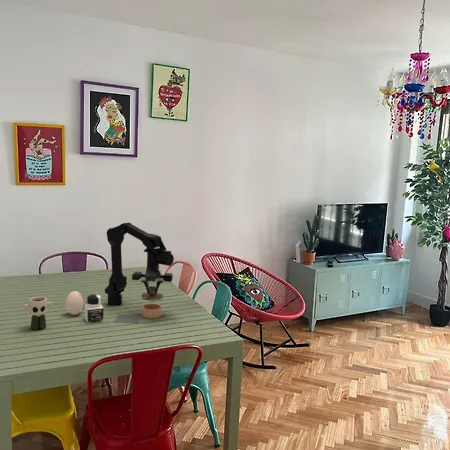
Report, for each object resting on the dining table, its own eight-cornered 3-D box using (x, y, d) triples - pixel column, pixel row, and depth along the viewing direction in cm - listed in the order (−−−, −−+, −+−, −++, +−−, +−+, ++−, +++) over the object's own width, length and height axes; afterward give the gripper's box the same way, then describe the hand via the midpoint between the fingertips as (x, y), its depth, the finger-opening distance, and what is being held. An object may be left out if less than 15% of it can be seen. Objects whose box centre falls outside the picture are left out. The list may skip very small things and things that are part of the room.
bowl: (140, 318, 215) (140, 309, 214) (143, 311, 224) (143, 302, 223) (160, 319, 215) (160, 310, 214) (162, 312, 224) (163, 303, 224)
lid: (139, 300, 213) (140, 289, 212) (143, 293, 223) (143, 283, 222) (161, 301, 213) (161, 290, 213) (163, 294, 223) (164, 284, 222)
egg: (78, 310, 221) (78, 287, 220) (86, 315, 216) (86, 291, 214) (62, 314, 216) (62, 290, 214) (70, 318, 210) (70, 294, 208)
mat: (113, 323, 207) (113, 322, 207) (118, 315, 218) (118, 314, 218) (137, 324, 207) (137, 323, 207) (141, 316, 218) (141, 315, 218)
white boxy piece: (87, 324, 204) (87, 298, 202) (84, 319, 210) (84, 294, 209) (103, 322, 208) (103, 297, 206) (100, 317, 214) (100, 292, 212)
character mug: (25, 332, 192) (25, 302, 190) (23, 326, 198) (23, 297, 196) (53, 329, 197) (52, 300, 195) (50, 323, 203) (50, 295, 201)
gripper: (130, 265, 207) (129, 298, 210) (171, 267, 208) (170, 300, 210) (134, 259, 218) (133, 291, 221) (173, 261, 219) (172, 293, 221)
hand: (152, 294), depth 218 cm, fingers closed on lid, 3 cm apart
